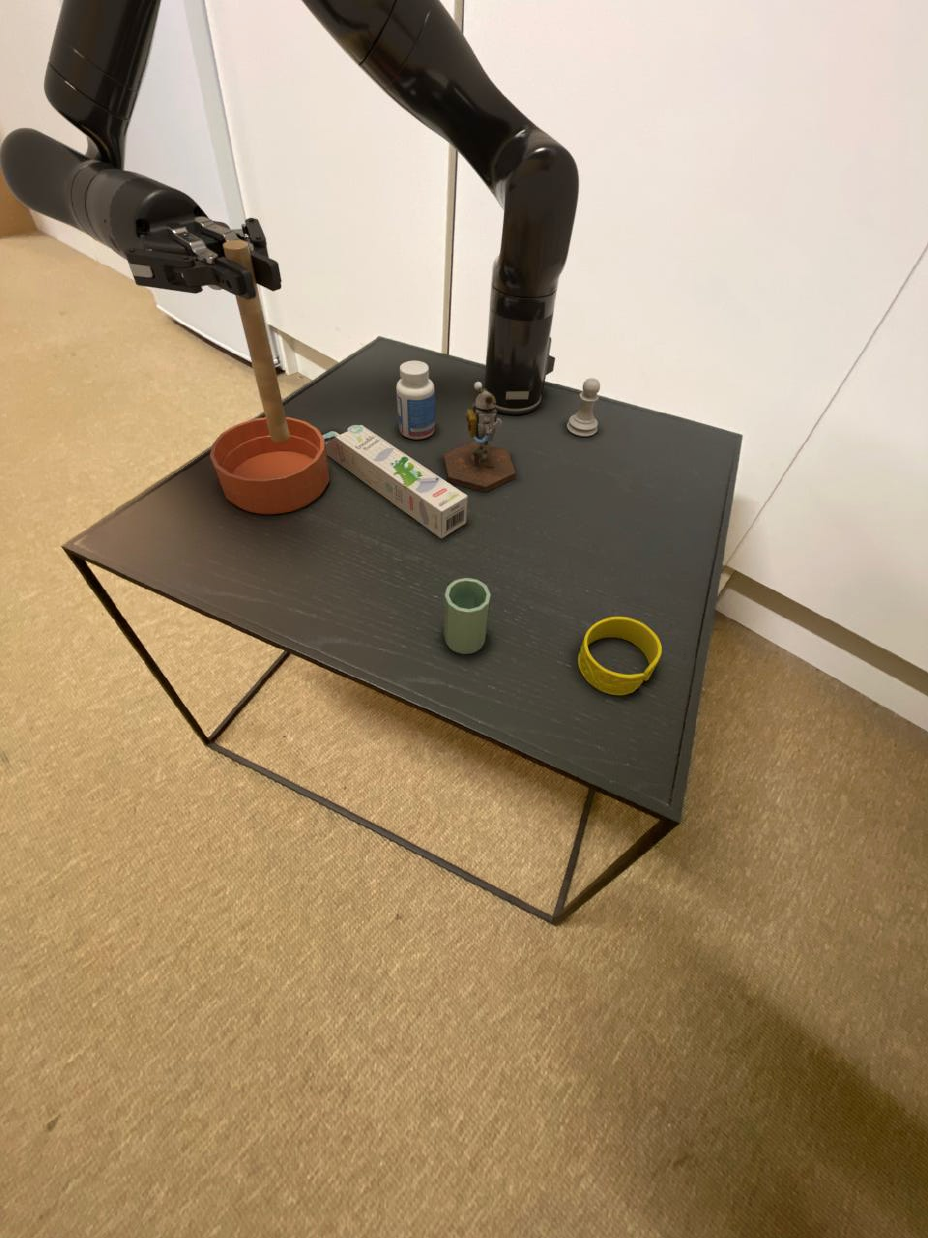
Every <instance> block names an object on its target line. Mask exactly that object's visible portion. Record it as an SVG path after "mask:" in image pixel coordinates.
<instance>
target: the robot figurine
mask: <svg viewBox="0 0 928 1238" xmlns="http://www.w3.org/2000/svg"><path fill="white" fill-rule="evenodd" d="M473 386H474V389H475V390H476V391H478V394H477V396H476V397H475V402H473V403H472V404H471V405H472V408H471V409H466V422H467V430H468V434H469V436H470V438H471V439H473V440H472V441H469V442H467V443H465V444H462V445H460V446H458V447H455V448H453V449H451V450H448V451H446V452H444V453H443V463H444V468H445V472H446V473H445V474H446V477H447V478H446V479H447V482H448V483H449V484H451V485H456V486H459V487H463V488H467V489H471V490H473V491H478V492H481V493H487V492H489V491H492V490H494V489H496V488H498V487H500V486H502V485H505V484H506V483H508V482H510V481H512V480H514V479H515V478H516V471H515V467H514V464H513V461H512V459H511V455H510V453H509V450H508V449H506V448H502V447H498V446H494V445H491V444H489V442H492V441H493V439H494V435H495V432H496V430H498V429H499V428H500V427H501V426H502V425H503V421H502V420H501V418H499V417H498V412H497V411H496V409H494V407H495V404H496V400H495V397H494V396H493V395H492V394H491V393H489V392H488V391H487V389H485V388H484V387H483V384H482V382H480V381H476V382H475V383H474V385H473Z"/></svg>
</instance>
